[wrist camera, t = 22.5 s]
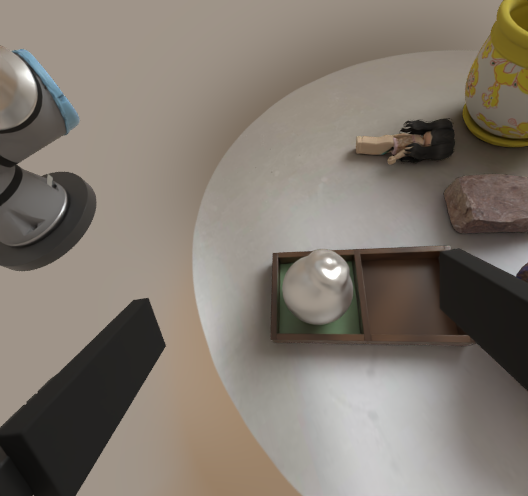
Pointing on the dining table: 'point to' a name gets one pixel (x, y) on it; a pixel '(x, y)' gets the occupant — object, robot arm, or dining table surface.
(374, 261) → the tray
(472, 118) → the flowerpot
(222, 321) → the dining table surface
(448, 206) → the stone
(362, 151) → the toy figure
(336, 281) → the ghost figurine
